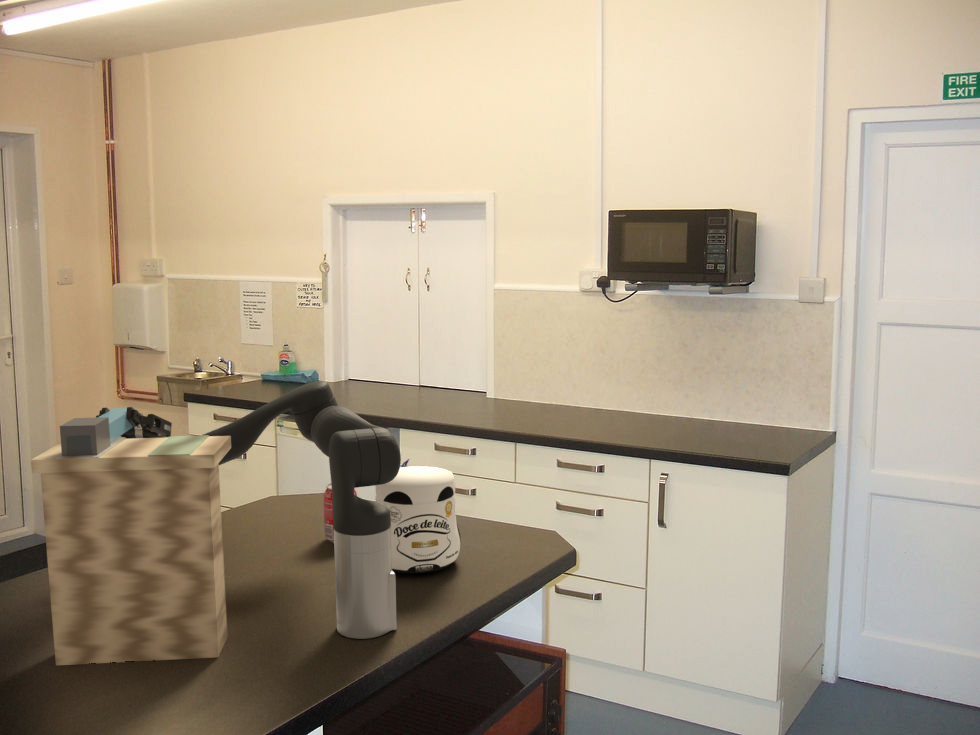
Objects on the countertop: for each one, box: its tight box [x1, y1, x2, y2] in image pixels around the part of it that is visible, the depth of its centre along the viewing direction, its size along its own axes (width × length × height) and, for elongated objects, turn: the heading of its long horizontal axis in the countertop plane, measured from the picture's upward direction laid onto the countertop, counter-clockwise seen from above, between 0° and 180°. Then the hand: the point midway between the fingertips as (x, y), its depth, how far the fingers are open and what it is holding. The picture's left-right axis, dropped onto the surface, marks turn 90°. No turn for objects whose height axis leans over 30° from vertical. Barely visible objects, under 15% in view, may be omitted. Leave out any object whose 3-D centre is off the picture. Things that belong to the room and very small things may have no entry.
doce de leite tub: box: [375, 465, 462, 574], centre depth 174 cm, size 17×17×18 cm
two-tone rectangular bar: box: [59, 407, 136, 456], centre depth 141 cm, size 5×22×4 cm, turn 6°
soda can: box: [323, 482, 358, 544], centre depth 189 cm, size 7×7×12 cm
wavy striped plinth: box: [30, 434, 231, 666], centre depth 139 cm, size 26×13×32 cm, turn 96°
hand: (116, 412), depth 148 cm, fingers closed on two-tone rectangular bar, 3 cm apart
